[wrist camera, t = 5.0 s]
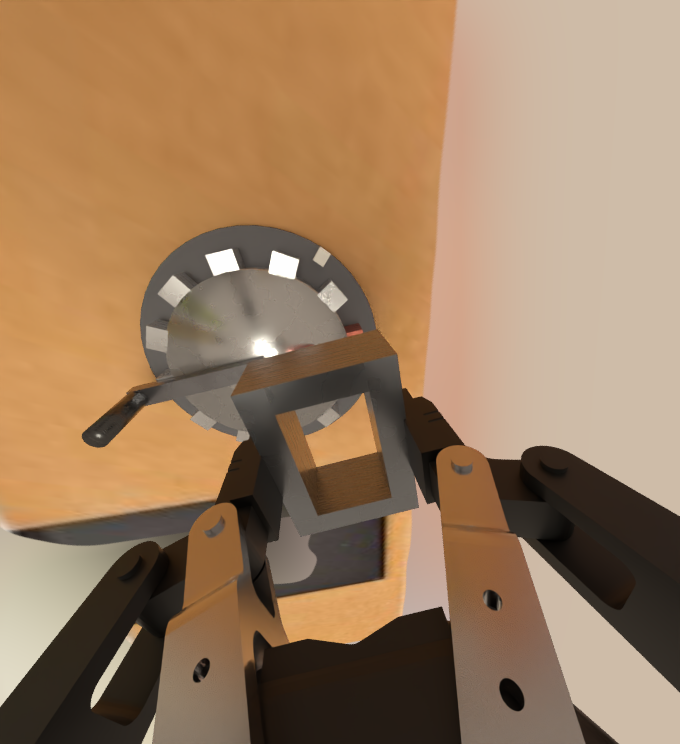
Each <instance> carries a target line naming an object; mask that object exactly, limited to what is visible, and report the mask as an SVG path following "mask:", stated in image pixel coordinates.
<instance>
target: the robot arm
mask: <svg viewBox="0 0 680 744" xmlns="http://www.w3.org/2000/svg"><path fill="white" fill-rule="evenodd" d="M402 392H403V399H404V406H405V413H406V419H404V426H405V433H406V440H407V447H408V453H409V460H410V467H411V469H412V471H413V473H414V476H415V478H416V480H417V482H418V485H419V487H420V489H421V491H422V493H423V496H424V498H425V500H426V502H427V504H430V503H433V502H436V504H437V506H438V508H439V510H440V512H441V523H442V533H443V534H442V535H443V544H444V545H443V546H444V557H445V568H446V580H447V590H448V601H449V614H450V621H447V619H446V617H445V614H444V611H443V609H442V607H438V608H434V609H430V610H425V611H421V612H417V613H413V614H409V615H405V616H400V617H397V618H396V619H394V620H393V621H391V622H390V623H388V624H386V625H385V626H383V627H382V628H380V629H379V630H377V631H376V632H374V633H373V634H371V635H369V636H368V637H366V638H365V639H363V640H362V641H360V642H358V643H356V644H352V645H351V644H342V643H335V642H327V641H320V640H312V639H305V640H301V641H297V642H293V643H289V640H288V638H287V635H286V633H285V631H284V628H283V625H282V622H281V618H280V613H279V608H278V603H277V598H276V594H275V589H274V584H273V580H272V575H271V570H270V565H269V561H268V558H267V556H266V548H267V543H268V542H272V541H277V540H278V539H279V530H280V521H281V512H282V503H283V497H282V495H281V493H280V491H279V489H278V487H277V485H276V483H275V481H274V479H273V477H272V475H271V473H270V471H269V469H268V467H267V465H266V463H265V461H264V459H263V457H262V455H261V456H260V455H259V453H258V451H257V449H256V447H255V445H254V443H253V441H252V439H251V437H250V436H249V439H248V440H245V441H243V442H242V443H241V444H240V445H239V447H238V448H237V449H236V450H235V452H234V455H233V458H232V460H231V464H230V466H229V468H228V473H227V474H226V477H225V479H224V482H223V485H222V487H221V490H220V493H219V495H218V498H217V501H216V504H215V506H213V507H211V508H209V509H208V510H206V511H205V512H204V513H203V514H202V515H201V516H200V517H199V518H198V519H197V520H196V521H195V523H194V524H193V526H192V528H191V530H190V533H189V535H188V536H186V537H184V538H182V539H180V540H178V541H177V542H175V543H173V544H171V545H169V546H168V547H165V548H164V549H161V548H160V546H159V545H158V544H157V543H156V542H153V541H147V542H143V543H141V544H138V545H136V546H134V547H133V548H131V549H130V550H128V551H127V552H126V553H124V554H123V555H122V556H121V557H120V558H119V559H118V560H117V561H116V562H115V563H114V565H112V567H111V568H110V569H109V570H108V572H107V573H106V574H105V575H104V577H103V578H102V579H101V581H100V582H99V583H98V584H97V586H96V587H95V588H94V589H93V591H92V592H91V593H90V595H89V596H88V597H87V598H86V600H85V601H84V602H83V603H82V605H81V606H80V607H79V608H78V610H77V611H76V612H75V613H74V615H73V616H72V617H71V618H70V620H69V621H68V622H67V623H66V625H65V626H64V627H63V629H62V630H61V631H60V632H59V634H58V635H57V636H56V637H55V639H54V640H53V641H52V642H51V644H50V645H49V646H48V647H47V649H46V650H45V651H44V653H43V654H42V655H41V656H40V658H39V659H38V660H37V662H36V663H35V664H34V665H33V666H32V668H31V669H30V670H29V671H28V673H27V674H26V675H25V677H24V678H23V679H22V680H21V682H20V683H19V684H18V685H17V687H16V688H15V689H14V691H13V692H12V693H11V694H10V696H9V697H8V698H7V699H6V701H5V702H4V703H3V704H2V706H1V707H0V744H142V741H143V739H144V737H145V735H146V733H147V730H148V728H149V726H150V724H151V722H152V720H153V718H154V715H155V713H156V718H155V725H154V735H153V742H152V744H618V743H617V742H616V741H615V740H614V739H613V738H612V737H610V736H609V735H608V734H607V733H606V732H605V731H604V730H602V729H601V728H600V727H599V726H598V725H597V724H596V723H594V722H593V721H592V720H591V719H590V718H589V717H588V716H586V715H585V714H584V713H583V712H582V711H581V710H579V709H578V708H577V707H576V706H575V705H574V704H573V703H572V701H571V698H570V695H569V692H568V688H567V685H566V683H565V679H564V676H563V673H562V670H561V667H560V664H559V661H558V658H557V655H556V652H555V649H554V645H553V643H552V639H551V636H550V633H549V630H548V627H547V624H546V621H545V618H544V615H543V612H542V609H541V606H540V602H539V599H538V596H537V593H536V590H535V587H534V584H533V581H532V578H531V575H530V572H529V569H528V566H527V562H526V560H525V556H524V553H523V550H522V548H521V545H520V542H519V540H518V537H522V538H523V539H524V540H525V541H526V542H527V543H528V544H529V545H530V546H531V547H532V548H533V549H534V550H535V551H536V552H538V554H539V555H540V556H541V557H542V558H544V559H545V561H547V563H548V564H550V565H551V566H552V567H553V568H554V569H555V570H556V571H557V572H558V573H559V574H560V575H561V576H562V577H563V578H564V579H565V580H566V581H567V582H568V583H569V584H570V585H571V586H572V587H573V588H574V589H575V590H576V591H577V592H578V593H579V594H580V595H581V596H582V597H583V598H584V599H585V600H586V601H587V602H588V603H589V604H590V605H591V606H592V607H594V609H595V610H596V611H597V612H598V613H600V614H601V616H602V617H604V618H605V619H606V620H607V621H608V622H609V623H610V624H611V625H612V626H613V627H614V628H615V629H616V630H617V631H618V632H619V633H620V634H621V635H622V636H623V637H624V638H625V639H626V640H627V641H628V642H629V643H630V644H631V645H632V646H633V647H634V648H635V649H636V650H637V651H638V652H639V653H640V654H641V655H642V656H643V657H645V659H646V660H647V661H648V662H649V663H650V664H651V665H652V666H653V667H654V668H656V669H657V671H658V672H660V673H661V674H662V675H663V676H664V677H665V678H666V679H667V680H668V681H669V682H670V683H671V684H672V685H673V686H674V687H675V688H676V689H677V690H678V691H679V692H680V516H678V515H676V514H675V513H673V512H671V511H669V510H668V509H666V508H664V507H662V506H661V505H659V504H657V503H656V502H654V501H652V500H650V499H649V498H647V497H645V496H644V495H642V494H640V493H638V492H636V491H635V490H633V489H631V488H630V487H628V486H626V485H625V484H623V483H621V482H619V481H618V480H616V479H614V478H613V477H611V476H609V475H607V474H606V473H604V472H602V471H600V470H599V469H597V468H595V467H594V466H592V465H590V464H588V463H587V462H585V461H583V460H581V459H580V458H578V457H576V456H575V455H573V454H571V453H569V452H567V451H564V450H562V449H559V448H555V447H549V446H535V447H531V448H529V449H527V450H525V451H524V452H523V454H522V456H521V460H501V459H490V458H486V457H485V456H484V455H483V454H482V453H480V452H479V451H477V450H475V449H473V448H471V447H467V446H465V445H464V443H463V442H462V441H461V439H459V437H458V436H457V434H456V433H455V432H454V430H453V429H452V428H451V427H450V425H449V424H448V423H447V422H446V420H445V419H444V418H443V416H442V415H441V414H440V412H438V409H437V408H436V407H435V406H434V404H433V403H432V402H430V401H429V400H427V399H425V398H423V397H422V396H421V397H417V398H412V396H411V395H410V393H409V392H408V390H407V389H406V388H403V389H402ZM135 622H136V623H137V624H139V625H140V626H141V627H142V629H141V630H140V632H139V634H138V635H137V637H136V639H135V640H134V642H133V644H132V646H131V647H130V649H129V651H128V652H127V654H126V656H125V657H124V659H123V661H122V662H121V664H120V666H119V667H118V669H117V671H116V672H115V674H114V676H113V677H112V679H111V681H110V683H109V684H108V686H107V688H106V689H105V691H104V693H103V694H102V696H101V698H100V699H99V701H98V702H97V703H96V705H95V706H94V707H93V708H92V709H91V707H90V706H91V698H92V694H93V692H94V689H95V687H96V685H97V683H98V681H99V680H100V678H101V676H102V675H103V673H104V672H105V670H106V668H107V667H108V665H109V664H110V662H111V660H112V659H113V657H114V656H115V654H116V652H117V651H118V649H119V647H120V646H121V644H122V643H123V641H124V639H125V638H126V636H127V635H128V633H129V631H130V630H131V628H132V627H133V625H134V623H135Z"/></svg>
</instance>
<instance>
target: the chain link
mask: <svg viewBox="0 0 680 744" xmlns="http://www.w3.org/2000/svg"><path fill="white" fill-rule="evenodd" d="M362 393H364V395H365V399H366V404H367V408H368V413H369V417H370V422H371V426H372V431H373V435H374V440H375V444H376V449H377V452H376V453H372V454H368V455H364V456H360V457H356V458H352V459H348V460H344V461H340V462H336V463H332V464H328V465H324V466H320V467H316V465H315V462H314V459H313V457H312V454H311V452H310V449H309V446H308V444H307V441H306V438H305V436H304V433H303V430H302V428H301V425H300V422H299V420H298V417H297V414H296V412H295V410H298V409H302V408H306V407H310V406H314V405H318V404H322V403H326V402H330V401H334V400H338V399H342V398H346V397H350V396H354V395H358V394H362ZM230 397H231V399H232V401H233V403H234V405H235V407H236V409H237V411H238V413H239V415H240V417H241V419H242V421H243V423H244V425H245V427H246V429H247V431H248V433H249V435H250V437H251V439H252V441H253V443H254V445H255V447H256V449H257V451H258V453H259V455H260V456H261V455H262V457H263V459H264V461H265V463H266V465H267V467H268V469H269V471H270V473H271V475H272V477H273V479H274V481H275V483H276V485H277V487H278V489H279V491H280V493H281V495H282V497H283V503H284V505H285V507H286V509H287V511H288V513H289V515H290V517H291V519H292V521H293V523H294V525H295V527H296V529H297V530H298V533H299V535H300V536H301V537H302V536H306V535H310V534H314V533H318V532H322V531H326V530H330V529H334V528H338V527H342V526H347V525H351V524H355V523H359V522H363V521H367V520H371V519H375V518H379V517H383V516H387V515H391V514H395V513H399V512H403V511H407V510H411V509H415V508H419V505H418V498H417V491H416V484H415V477H414V473H413V471H412V469H411V467H410V460H409V453H408V447H407V440H406V433H405V426H404V419H406V413H405V406H404V399H403V392H402V385H401V378H400V371H399V364H398V357H397V353H396V352H395V351H394V350H393V348H392V347H391V346H390V345H389V343H388V342H387V341H386V340H385V338H384V337H383V336H382V334H381V333H380V332H379V331H378V329H376V330H372V331H369V332H365V333H361V334H357V335H353V336H349V337H345V338H341V339H337V340H333V341H329V342H325V343H322V344H318V345H314V346H310V347H306V348H302V349H298V350H294V351H290V352H286V353H282V354H278V355H275V356H271V357H267V358H263V359H259V360H255V361H251V362H248V364H247V366H246V368H245V370H244V372H243V374H242V376H241V377H240V379H239V381H238V383H237V385H236V387H235V389H234V391H233V392H232V394H231V396H230Z"/></svg>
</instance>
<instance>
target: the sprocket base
mask: <svg viewBox="0 0 680 744" xmlns="http://www.w3.org/2000/svg"><path fill="white" fill-rule="evenodd" d="M234 248H238V249H239V252H240V254H241V257H242V260H243V263H244V265H245V267H265V268H270V262H271V257H272V252H273V251H274V250H278V251H281V252H284V253H286V254H289V255H292V256H295V257H298V258H300V260H299V264H298V268H297V272H296V276H297V277H299V278H301V279H303V280H304V281H306V282H308V283H309V284H311V285H312V286H313V287H315V288H316V289H317V290H318V289H319V288H320V287H321V286H322V285H323V284H324V283H325V282H326V281H327V280H328V279H329V278H330V279H331V280H332V281H333V282H334V283H335V284H336V285H337V287H338V288H339V289H340V290H341V291H342V292H343V293H344V295H345V296H346V298H347V299H348V300H347V301H346V302H345V303H344V304H343V305H342V306H341V307H340V308H339V309H337V310H336V312H337V314H338V315H339V317H340V319H341V322H342V324H343V326H348V325H352V324H356V323H359V324H360V326H361V328H362V330H363V333H365V332H369V331H372V330H376V327H375V322H374V318H373V313H372V311H371V308H370V305H369V303H368V300H367V298H366V296H365V294H364V293H363V291H362V289H361V287H360V285H359V284H358V283H357V281H356V280H355V279H354V277H353V276H352V274H351V273H350V272H349V271H348V270H347V269H346V268H345V267H344V266H343V265H342V264H341V263H340V261H338V260H337V259H336V258H335V257H333V256H332V255H331V254H330V253H329V252H328V251H326V250H325V249H323V248H322V247H320V246H318V245H317V244H315V243H313V242H312V241H310V240H308V239H305V238H303V237H301V236H298V235H296V234H294V233H291V232H287V231H284V230H280V229H276V228H271V227H264V226H256V225H252V226H232V227H226V228H219V229H216V230H213V231H210V232H207V233H204V234H201V235H199V236H197V237H195V238H193V239H191V240H189V241H187V242H185V243H184V244H183V245H181V246H180V247H179V248H177V249H176V250H175V251H173V252H172V253H171V254H170V255H169V256H168V257H167V258H166V259H165V260H164V262H163V263H162V264H161V265H160V266H159V268H158V269H157V271H156V272H155V274H154V275H153V277H152V278H151V281H150V283H149V285H148V287H147V290H146V292H145V295H144V299H143V304H142V308H141V319H140V327H141V339H142V343H143V348H144V352H145V355H146V358H147V360H148V363H149V365H150V368H151V370H152V371H153V373H154V375H155V377H156V378H157V377H158V376H159V375H161V374H162V373H163V372H164V371H165V370H166V369H169V367H168V363H167V358H166V353H165V352H161V351H156V350H152V349H147V348H146V326H147V325H149V324H150V323H152V322H154V321H156V320H158V319H161V320H165V321H169V319H170V317H171V315H172V313H173V311H174V309H175V307H173V306H172V305H171V304H170V303H168V302H167V301H166V300H165V299H163V298H162V297H161V296H159V295H158V293H159V291H160V290H161V289H162V288H163V286H164V285H165V284H166V283H167V282H168V280H169V279H170V278H171V277H172V275H175V274H178V273H182V272H185V273H186V274H187V275H188V276H189V277H191V278H192V279H193V280H194V281H195V282H196V283H198V284H199V283H201V282H202V281H204V280H206V279H208V278H211V277H213V276H214V275H213V273H212V271H211V268H210V266H209V263H208V261H207V259H206V256H205V255H208V254H213V253H217V252H221V251H225V250H229V249H234ZM360 396H361V394H358V395H354V396H350V397H346V398H342V399H338V400H337V401H336V402H335V403H337V404H338V405H339V411H340V417H341V416H343V415H344V414H345V413H346V412H347V411H348V410H349V409H350V408H351V407H352V406H353V405H354V404H355V402H356V401H357V400H358V399H359V397H360ZM173 400H174V401H175V402H176V403H177V404H178V405H179V406H180V407H181V408H182V409H183V410H185V411H186V412H187V413H188V414H190V415H191V416H192V415H193V414H194V412H195V411H196V409H197V408H196V407H195V406H194V405H193V404H191V403H190V402H189V400H188V399H187V398H186V397H181V398H177V399H173ZM340 417H339V418H340ZM339 418H337V419H339ZM337 419H336V420H337ZM336 420H335V421H336ZM332 423H333V422H332ZM332 423H331V424H332ZM324 427H325V426H324V425H323V424H322V423H320V422H319V421H318V420H315V421H313V422H311V423H310V424H308V425H305V426H303V433H304V436H305V435H308V434H311V433H313V432H316V431H318V430H321V429H323V428H324ZM212 428H214V429H216V430H219V431H221V432H223V433H227V434H230V435H233V436H236V437H237V434H238V430H236V429H233V428H230V427H227V426H225V425H223V424H221V423H218V422H216V423H215V424H214V425H213V426H212Z"/></svg>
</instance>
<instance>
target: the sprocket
mask: <svg viewBox="0 0 680 744" xmlns="http://www.w3.org/2000/svg"><path fill="white" fill-rule="evenodd" d="M205 256H206V259H207V261H208V263H209V266H210V268H211V271H212V273H213V275H214V276H213V277H211V278H208V279H206V280H204V281H202V282H201V283H199V284H198V283H196V282H195V281H194V280H193V279H192V278H191V277H189V276H188V275H187V274H186V273H185V272H182V273H178V274H175V275H172V277H171V278H170V279H169V280H168V282H167V283H166V284H165V285H164V286H163V288H162V289H161V290H160V291H159V293H158V295H159V296H161V297H162V298H163V299H165V300H166V301H167V302H168V303H170V304H171V305H172V306H173V307H175V309H174V311H173V313H172V315H171V317H170V319H169V321H165V320H161V319H158V320H156V321H154V322H152V323H150V324H149V325H147V326H146V348H147V349H152V350H156V351H161V352H165V353H166V358H167V363H168V367H169V369H166V370H165V371H164V372H163V373H162V374H161V375H159V376H158V377H157V378H156V382H152V383H148V384H144V385H140V386H136V387H133V388H131V389H130V390H129V391H128V392H127V393H126V394H127V395H126V396H125V397H124V398H123V399H121V400H120V401H119V402H118V403H117V404H116V405H114V406H113V407H112V408H111V409H110V410H109V411H108V412H106V413H105V414H104V415H103V416H102V417H101V418H99V419H98V420H97V421H96V422H95V423H94V424H93V425H91V426H90V427H89V428H88V429H87V430H86V431H84V432H83V434H82V439H83V440H84V442H85V443H87V444H88V445H90V446H93V447H99V448H100V447H105V446H106V445H107V444H108V443H109V442H110V441H111V440H112V439H113V438H114V437H115V436H116V435H117V434H118V433H119V432H120V431H121V430H122V429H123V428H124V427H125V426H126V425H127V424H128V423H129V422H130V421H131V420H132V419H133V418H134V417H135V416H136V415H137V414H138V413H139V411H140V410H141V409H142V408H143V407H144V406H147V405H151V404H156V403H160V402H164V401H168V400H172V399H177V398H181V397H186V398H187V399H188V400H189V402H190V403H191V404H193V405H194V406H195V407H196V408H197V409H196V411H195V412H194V414H193V415H192V417H191V419H190V420H192V421H193V422H195V423H197V424H198V425H200V426H201V427H203V428H205V429H206V430H209V429H210V428H211V427H212V426H213V425H214V424H215V423H216V422H218V423H221V424H223V425H225V426H227V427H230V428H233V429H236V430H238V434H237V439H236V441H240V442H243V441H245V440H248V439H249V436H250V435H249V433H248V431H247V429H246V427H245V425H244V423H243V421H242V419H241V417H240V415H239V413H238V411H237V409H236V407H235V405H234V403H233V401H232V399H231V397H230V396H231V394H232V392H233V391H234V389H235V387H236V385H237V383H238V381H239V379H240V377H241V376H242V374H243V372H244V370H245V368H246V366H247V364H248V362H251V361H255V360H259V359H263V358H267V357H271V356H275V355H278V354H282V353H286V352H290V351H294V350H298V349H302V348H306V347H310V346H314V345H318V344H322V343H325V342H329V341H333V340H337V339H341V338H345V337H349V336H353V335H357V334H361V333H363V330H362V328H361V326H360V324H359V323H356V324H352V325H348V326H343V324H342V322H341V319H340V317H339V315H338V314H337V312H336V310H337V309H339V308H340V307H341V306H342V305H343V304H344V303H345V302H346V301H347V300H348V299H347V298H346V296H345V295H344V293H343V292H342V291H341V290H340V289H339V288H338V287H337V285H336V284H335V283H334V282H333V281H332V280H331V279H330V278H329V279H328V280H327V281H326V282H325V283H324V284H323V285H322V286H321V287H320V288H319V289H318V290H317V289H316V288H315V287H313V286H312V285H311V284H309V283H308V282H306V281H304V280H303V279H301V278H299V277H297V276H296V272H297V268H298V264H299V260H300V258H298V257H295V256H292V255H289V254H286V253H284V252H281V251H278V250H274V251H273V252H272V257H271V262H270V268H265V267H245V265H244V263H243V260H242V257H241V254H240V252H239V249H238V248H234V249H229V250H225V251H221V252H217V253H213V254H208V255H205ZM336 401H337V400H334V401H330V402H326V403H322V404H318V405H314V406H310V407H306V408H302V409H298V410H295V412H296V414H297V417H298V420H299V422H300V425H301V428H302V430H303V426H305V425H308V424H310V423H311V422H313V421H315V420H318V421H319V422H320V423H322V424H323V425H324V426H325V427H327V426H329V425H330V424H331V423H332V422H334V421H335V420H336V419H337V418H339V417H340V411H339V405H338V404H337V403H335V402H336Z"/></svg>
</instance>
